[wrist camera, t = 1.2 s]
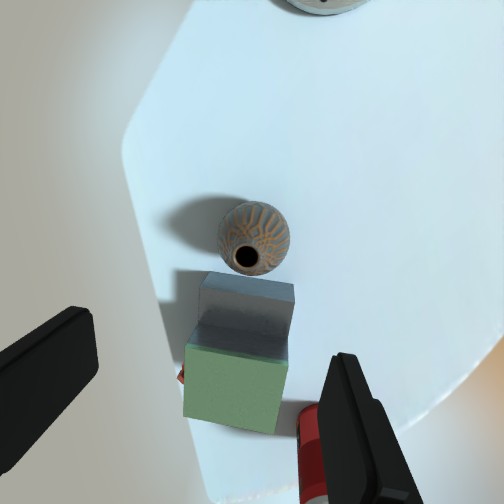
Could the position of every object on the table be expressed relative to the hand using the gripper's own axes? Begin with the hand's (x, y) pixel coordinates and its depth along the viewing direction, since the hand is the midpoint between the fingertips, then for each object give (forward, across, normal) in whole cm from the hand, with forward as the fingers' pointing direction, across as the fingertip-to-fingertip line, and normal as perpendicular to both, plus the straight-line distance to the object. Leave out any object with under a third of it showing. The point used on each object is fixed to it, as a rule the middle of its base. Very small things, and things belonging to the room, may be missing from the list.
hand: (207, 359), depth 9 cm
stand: (+19, 0, +12) cm, 23 cm away
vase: (+19, 0, 0) cm, 19 cm away
